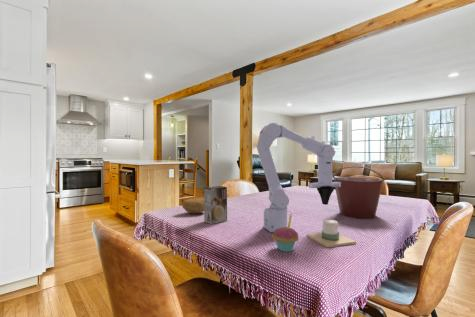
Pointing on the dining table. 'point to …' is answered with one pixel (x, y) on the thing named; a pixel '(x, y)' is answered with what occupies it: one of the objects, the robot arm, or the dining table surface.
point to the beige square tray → (331, 239)
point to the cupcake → (285, 237)
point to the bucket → (358, 195)
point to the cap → (330, 227)
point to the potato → (194, 205)
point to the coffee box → (215, 204)
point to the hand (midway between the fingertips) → (325, 204)
